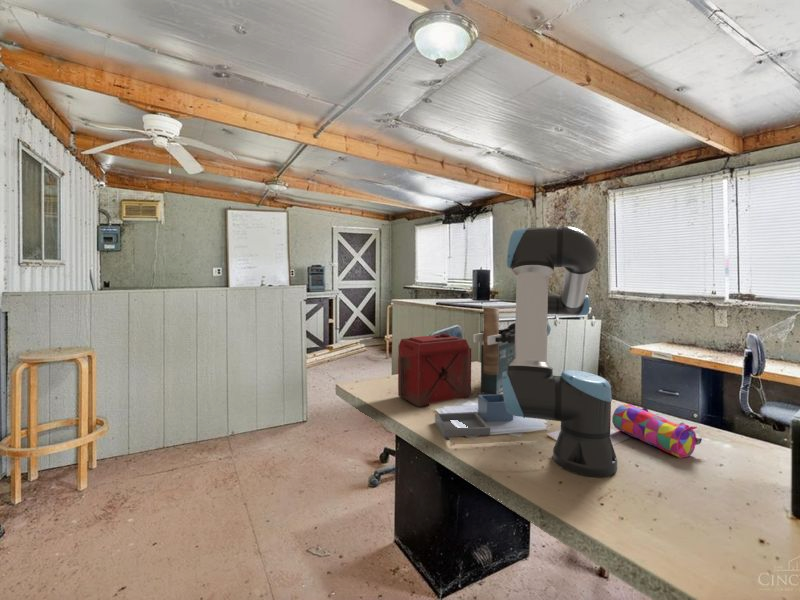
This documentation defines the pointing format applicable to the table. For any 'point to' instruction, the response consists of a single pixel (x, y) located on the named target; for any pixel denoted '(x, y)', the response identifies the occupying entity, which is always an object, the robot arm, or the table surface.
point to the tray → (468, 418)
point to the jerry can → (434, 369)
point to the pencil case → (656, 430)
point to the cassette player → (494, 382)
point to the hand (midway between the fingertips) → (481, 339)
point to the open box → (493, 407)
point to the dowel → (492, 350)
